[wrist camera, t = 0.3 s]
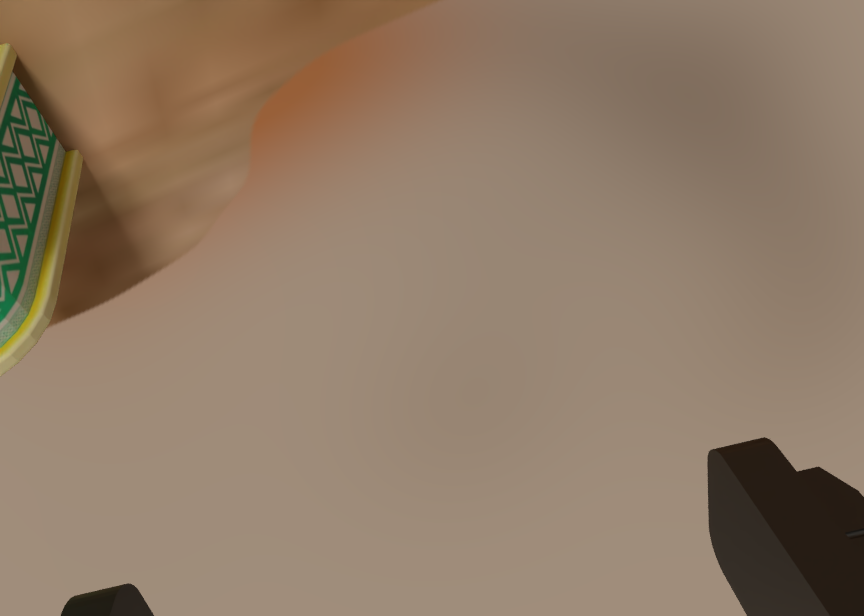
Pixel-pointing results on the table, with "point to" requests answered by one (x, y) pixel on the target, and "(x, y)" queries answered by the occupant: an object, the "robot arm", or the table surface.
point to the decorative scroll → (30, 216)
